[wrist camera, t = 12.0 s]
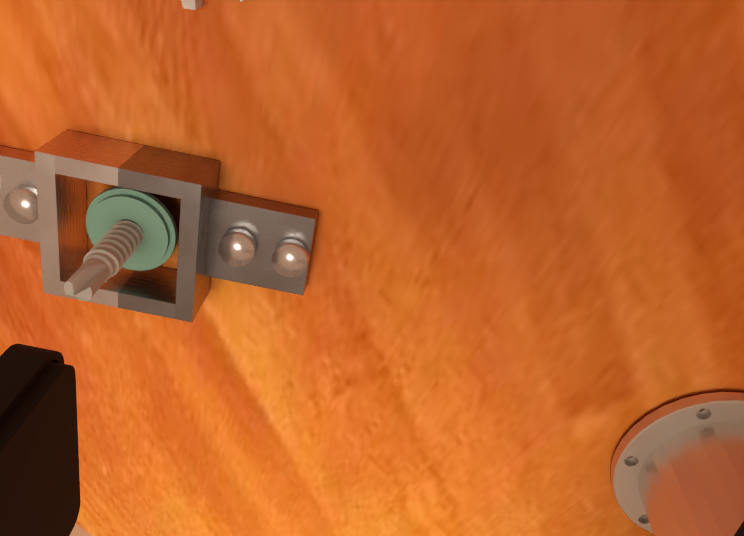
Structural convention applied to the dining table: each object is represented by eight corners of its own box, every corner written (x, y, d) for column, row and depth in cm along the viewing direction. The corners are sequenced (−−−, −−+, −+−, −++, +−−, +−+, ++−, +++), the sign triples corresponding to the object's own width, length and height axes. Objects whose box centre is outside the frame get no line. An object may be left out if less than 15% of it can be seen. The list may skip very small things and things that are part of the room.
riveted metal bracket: (323, 181, 38) (313, 207, 35) (302, 308, 42) (292, 342, 39) (-38, 108, 37) (-80, 128, 34) (-23, 244, 42) (-59, 272, 39)
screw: (86, 188, 39) (161, 162, 38) (129, 262, 41) (202, 239, 40) (-2, 265, 31) (90, 234, 30) (58, 350, 34) (146, 325, 32)
